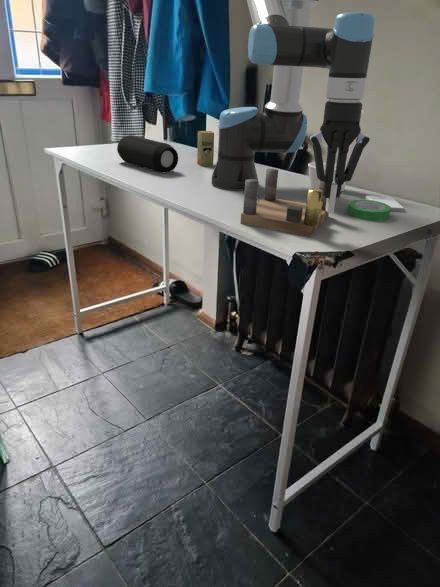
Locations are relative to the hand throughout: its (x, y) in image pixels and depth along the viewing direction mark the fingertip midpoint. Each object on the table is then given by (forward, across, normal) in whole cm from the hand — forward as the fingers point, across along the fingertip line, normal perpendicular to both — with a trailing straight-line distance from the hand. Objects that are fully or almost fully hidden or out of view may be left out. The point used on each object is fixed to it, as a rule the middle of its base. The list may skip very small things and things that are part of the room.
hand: (329, 211), depth 103 cm
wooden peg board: (+6, -8, +12) cm, 15 cm away
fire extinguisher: (+6, +14, +45) cm, 48 cm away
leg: (+3, -2, +5) cm, 6 cm away
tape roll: (+7, +17, +18) cm, 26 cm away
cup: (+6, +6, +27) cm, 29 cm away
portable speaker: (+5, -48, +69) cm, 84 cm away
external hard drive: (+7, +25, +28) cm, 38 cm away
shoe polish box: (+5, -27, +77) cm, 81 cm away
